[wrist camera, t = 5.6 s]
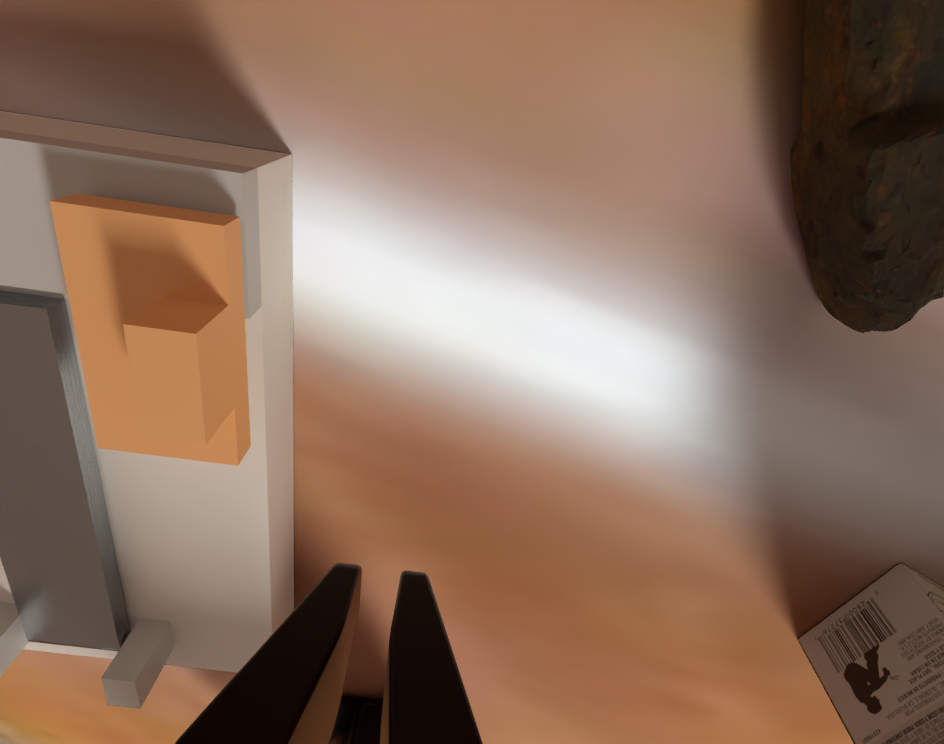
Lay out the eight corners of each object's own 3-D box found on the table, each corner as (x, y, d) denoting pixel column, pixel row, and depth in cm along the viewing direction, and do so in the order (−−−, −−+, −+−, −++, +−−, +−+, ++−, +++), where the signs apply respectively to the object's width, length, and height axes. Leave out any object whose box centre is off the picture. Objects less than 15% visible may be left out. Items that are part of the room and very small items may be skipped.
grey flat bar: (132, 638, 24) (121, 656, 23) (43, 628, 23) (29, 646, 23) (65, 299, 17) (46, 309, 16) (-62, 282, 17) (-86, 291, 16)
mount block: (294, 618, 27) (251, 738, 22) (-30, 581, 27) (-149, 697, 22) (292, 154, 18) (215, 184, 13) (-214, 78, 17) (-504, 78, 12)
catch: (250, 446, 17) (211, 506, 15) (117, 429, 17) (55, 487, 15) (240, 216, 14) (188, 246, 12) (77, 193, 14) (-11, 217, 12)
